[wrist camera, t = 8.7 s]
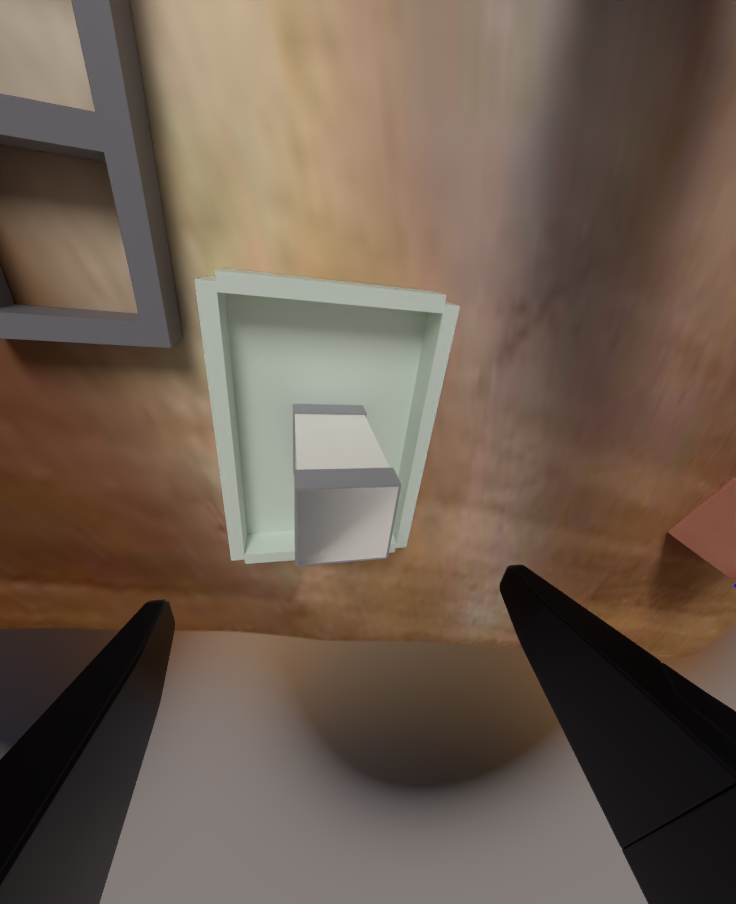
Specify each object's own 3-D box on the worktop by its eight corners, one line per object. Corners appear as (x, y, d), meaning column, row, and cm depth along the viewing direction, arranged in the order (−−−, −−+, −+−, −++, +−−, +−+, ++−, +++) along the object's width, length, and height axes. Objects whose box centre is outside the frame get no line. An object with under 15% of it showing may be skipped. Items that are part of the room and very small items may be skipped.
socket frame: (104, -162, 10) (57, -268, 8) (183, 338, 16) (168, 349, 14) (-261, -292, 8) (-439, -470, 6) (-4, 326, 15) (-48, 337, 13)
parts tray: (441, 292, 18) (462, 296, 16) (395, 527, 26) (405, 551, 24) (206, 265, 15) (192, 267, 13) (237, 536, 23) (231, 565, 21)
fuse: (362, 405, 19) (401, 484, 13) (356, 463, 21) (387, 558, 15) (292, 403, 19) (294, 488, 12) (293, 464, 21) (294, 566, 14)
